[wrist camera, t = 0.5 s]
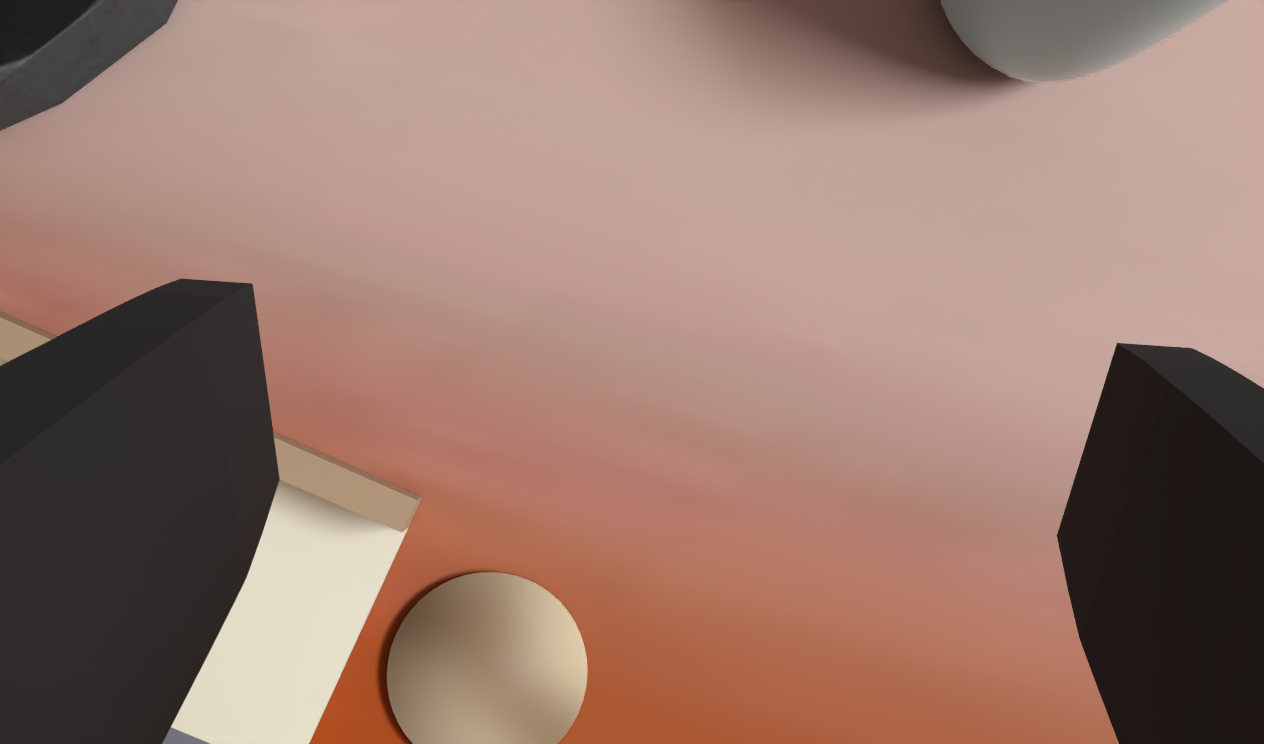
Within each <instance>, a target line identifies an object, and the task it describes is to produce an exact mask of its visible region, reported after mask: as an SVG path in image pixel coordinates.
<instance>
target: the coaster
mask: <svg viewBox="0 0 1264 744" xmlns="http://www.w3.org/2000/svg"><path fill="white" fill-rule="evenodd" d="M586 684H587V658H586V652H585V647H584V643H583V640H582V637H581V634H580V632H579V630H578V628H577V625H576V623H575V621H574V620H573V618H572V616H571V615H570V613H569V612H568V610H567V609H566V608H565V607H564V606H563V604H562V603H561V602H560V601H559V600H558V599H557V598H556V597H555V596H554V595H553V594H551V593H550V592H549V591H547V590H546V589H545V588H543V587H542V586H540V585H538V584H536V583H535V582H533V581H531V580H529V579H526V578H523V577H520V576H517V575H513V574H509V573H503V572H477V573H472V574H466V575H463V576H460V577H457V578H454V579H451V580H449V581H447V582H445V583H443V584H441V585H439V586H438V587H436V588H435V589H433V590H432V591H430V592H429V593H428V594H426V595H425V596H424V597H423V598H422V599H420V600H419V602H418V603H417V604H416V605H415V606H414V607H413V608H412V609H411V610H410V612H409V613H408V615H407V616H406V617H405V619H404V620H403V622H402V624H401V626H400V627H399V629H398V631H397V633H396V635H395V638H394V641H393V643H392V646H391V650H390V654H389V658H388V666H387V688H388V694H389V700H390V703H391V707H392V710H393V713H394V715H395V717H396V719H397V722H398V724H399V725H400V727H401V729H402V730H403V732H404V733H405V735H406V736H407V737H408V739H409V740H410V741H411V742H412V743H413V744H558V742H559V741H560V740H561V739H562V738H563V737H564V736H565V735H566V733H567V732H568V730H569V729H570V727H571V726H572V724H573V722H574V720H575V719H576V717H577V715H578V713H579V710H580V707H581V705H582V702H583V699H584V694H585V690H586Z"/></svg>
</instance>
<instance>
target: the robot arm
mask: <svg viewBox="0 0 1264 744" xmlns="http://www.w3.org/2000/svg"><path fill="white" fill-rule="evenodd" d="M279 480H280V478H279V471H278V464H277V456H276V449H275V442H274V435H273V428H272V420H271V413H270V406H269V399H268V392H267V384H266V377H265V370H264V363H263V355H262V348H261V341H260V334H259V327H258V319H257V312H256V305H255V298H254V291H253V284H250V283H235V282H220V281H206V280H191V279H179V280H176V281H174V282H171V283H168V284H165V285H163V286H160V287H158V288H155V289H153V290H151V291H148V292H146V293H144V294H142V295H140V296H138V297H135V298H133V299H131V300H129V301H127V302H125V303H123V304H121V305H119V306H117V307H115V308H113V309H111V310H109V311H107V312H105V313H103V314H101V315H99V316H97V317H95V318H93V319H91V320H89V321H87V322H85V323H83V324H81V325H79V326H77V327H75V328H73V329H71V330H69V331H67V332H66V333H64V334H62V335H60V336H58V337H56V338H54V339H52V340H50V341H48V342H46V343H44V344H42V345H40V346H38V347H36V348H34V349H32V350H30V351H28V352H26V353H24V354H22V355H20V356H18V357H16V358H14V359H12V360H10V361H9V362H7V363H5V364H3V365H1V366H0V744H162V743H163V741H164V739H165V738H166V736H167V734H168V732H169V730H170V728H171V726H172V724H173V722H174V720H175V718H176V716H177V714H178V712H179V710H180V708H181V706H182V705H183V703H184V701H185V699H186V697H187V695H188V693H189V691H190V689H191V687H192V685H193V683H194V681H195V679H196V677H197V675H198V673H199V672H200V670H201V668H202V666H203V664H204V662H205V660H206V658H207V656H208V654H209V652H210V650H211V648H212V646H213V644H214V642H215V640H216V638H217V636H218V634H219V632H220V630H221V628H222V626H223V624H224V622H225V620H226V618H227V616H228V614H229V612H230V610H231V608H232V606H233V604H234V602H235V600H236V598H237V596H238V594H239V592H240V590H241V588H242V586H243V584H244V582H245V580H246V578H247V575H248V572H249V570H250V567H251V564H252V561H253V558H254V556H255V553H256V550H257V547H258V544H259V542H260V539H261V536H262V533H263V530H264V527H265V524H266V521H267V518H268V514H269V511H270V508H271V505H272V502H273V499H274V496H275V493H276V490H277V487H278V483H279ZM1057 538H1058V543H1059V548H1060V552H1061V557H1062V562H1063V567H1064V572H1065V577H1066V582H1067V587H1068V592H1069V596H1070V600H1071V604H1072V608H1073V613H1074V617H1075V621H1076V625H1077V629H1078V633H1079V637H1080V641H1081V643H1082V646H1083V649H1084V652H1085V654H1086V657H1087V660H1088V663H1089V665H1090V668H1091V671H1092V673H1093V676H1094V679H1095V681H1096V684H1097V687H1098V689H1099V692H1100V695H1101V697H1102V700H1103V703H1104V705H1105V708H1106V711H1107V713H1108V716H1109V718H1110V721H1111V724H1112V726H1113V729H1114V731H1115V734H1116V737H1117V739H1118V742H1119V744H1264V388H1262V387H1260V386H1259V385H1257V384H1255V383H1254V382H1252V381H1251V380H1249V379H1247V378H1246V377H1244V376H1243V375H1241V374H1239V373H1237V372H1236V371H1234V370H1232V369H1231V368H1229V367H1227V366H1226V365H1224V364H1222V363H1220V362H1218V361H1216V360H1215V359H1213V358H1211V357H1209V356H1207V355H1205V354H1203V353H1201V352H1199V351H1197V350H1195V349H1192V348H1181V347H1166V346H1152V345H1137V344H1122V343H1117V345H1116V349H1115V352H1114V355H1113V358H1112V361H1111V365H1110V368H1109V371H1108V374H1107V377H1106V381H1105V384H1104V387H1103V390H1102V393H1101V397H1100V400H1099V403H1098V406H1097V409H1096V413H1095V416H1094V419H1093V422H1092V425H1091V428H1090V432H1089V435H1088V438H1087V441H1086V444H1085V448H1084V451H1083V454H1082V457H1081V460H1080V464H1079V467H1078V470H1077V473H1076V476H1075V480H1074V483H1073V486H1072V489H1071V492H1070V496H1069V499H1068V502H1067V505H1066V508H1065V512H1064V515H1063V518H1062V521H1061V524H1060V528H1059V531H1058V534H1057Z"/></svg>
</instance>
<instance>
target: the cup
mask: <svg viewBox="0 0 1264 744" xmlns="http://www.w3.org/2000/svg"><path fill="white" fill-rule="evenodd" d="M1231 1H1232V0H940V2H941V5H942V7H943V9H944V12H945V14H946V16H947V18H948V20H949V23H950V25H951V26H952V28H953V29H954V31H955V32H956V34H957V35H958V36H959V38H960V39H961V41H962V42H963V43H964V44H965V45H966V46H967V47H968V48H969V49H970V50H971V52H972V53H973V54H974V55H976V56H977V57H978V58H979V59H981V60H982V61H983V62H985V63H986V64H987V65H988V66H990V67H991V68H993V69H995V70H997V71H999V72H1001V73H1003V74H1005V75H1007V76H1009V77H1011V78H1015V79H1019V80H1022V81H1026V82H1040V83H1059V82H1064V81H1068V80H1073V79H1078V78H1083V77H1087V76H1091V75H1094V74H1097V73H1099V72H1102V71H1105V70H1107V69H1109V68H1112V67H1114V66H1116V65H1119V64H1121V63H1123V62H1125V61H1128V60H1130V59H1132V58H1134V57H1137V56H1139V55H1141V54H1143V53H1145V52H1147V51H1148V50H1150V49H1152V48H1154V47H1156V46H1158V45H1160V44H1161V43H1163V42H1165V41H1167V40H1169V39H1170V38H1172V37H1174V36H1175V35H1177V34H1179V33H1180V32H1182V31H1184V30H1185V29H1187V28H1189V27H1190V26H1192V25H1194V24H1195V23H1197V22H1199V21H1200V20H1202V19H1203V18H1205V17H1207V16H1208V15H1210V14H1212V13H1213V12H1215V11H1216V10H1218V9H1220V8H1221V7H1223V6H1224V5H1226V4H1227V3H1229V2H1231Z"/></svg>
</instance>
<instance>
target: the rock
mask: <svg viewBox="0 0 1264 744" xmlns="http://www.w3.org/2000/svg"><path fill="white" fill-rule="evenodd" d="M177 1H178V0H0V130H2V129H5V128H7V127H9V126H11V125H14V124H16V123H18V122H20V121H23V120H25V119H27V118H29V117H32V116H34V115H36V114H38V113H41V112H43V111H45V110H47V109H50V108H52V107H54V106H56V105H59V104H61V103H63V102H64V101H65V100H67V99H68V98H69V97H71V96H72V95H73V94H74V93H76V92H77V91H78V90H80V89H81V88H82V87H84V86H85V85H86V84H87V83H89V82H90V81H91V80H93V79H94V78H95V77H97V76H98V75H99V74H101V73H102V72H103V71H104V70H106V69H107V68H108V67H110V66H111V65H112V64H114V63H115V62H116V61H118V60H119V59H120V58H121V57H123V56H124V55H125V54H127V53H128V52H129V51H131V50H132V49H133V48H134V47H136V46H137V45H138V44H140V43H141V42H142V41H144V40H145V39H146V38H148V37H149V36H150V35H151V34H153V33H154V32H155V31H157V30H158V29H159V28H161V27H162V26H163V25H164V24H166V23H167V21H168V19H169V17H170V15H171V13H172V11H173V9H174V7H175V5H176V3H177Z"/></svg>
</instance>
